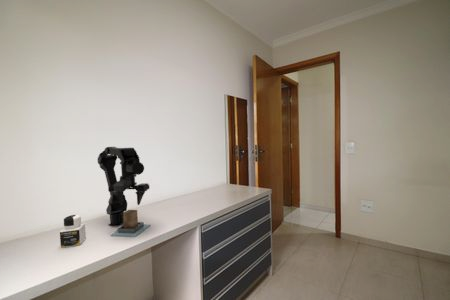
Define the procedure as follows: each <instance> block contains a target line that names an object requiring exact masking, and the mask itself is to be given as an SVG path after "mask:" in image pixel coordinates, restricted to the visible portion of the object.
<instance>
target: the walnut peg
mask: <svg viewBox="0 0 450 300" xmlns="http://www.w3.org/2000/svg"><path fill="white" fill-rule="evenodd" d="M123 217H124V223H123V225H124V228H134V227H136V226H137V225H138V222H139V220H138V217H139V216H138V209H127V210H126V211H124V213H123Z"/></svg>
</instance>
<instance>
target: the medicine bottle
mask: <svg viewBox="0 0 450 300" xmlns="http://www.w3.org/2000/svg"><path fill="white" fill-rule="evenodd" d="M86 233H87V232H86V223H85V222H84V223H82V217H81V215H80V214H72V215H68V216H66V217H64V218H63V229H61V230H60V231H59V240H60V248H61V249H62V248H69V247H70V248H71V247H77V246H80V245H81V244H82V243H83V242H84V241H85V240H86V239H87V235H86Z"/></svg>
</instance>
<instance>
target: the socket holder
mask: <svg viewBox="0 0 450 300" xmlns="http://www.w3.org/2000/svg"><path fill="white" fill-rule="evenodd" d="M149 227H151V224H150V223H149V224H147V223H144V221H138V225H137V226H136V227H134V228H124V224H123V225H120V227H118V228H117V230H116V231H114V232H113V233H111V234H109V235H110V237H123V238H124V237H125V238H126V237H127V238H136V237H138V236H139V235H141V234H142V233H143V232H144V231H145V230H147V229H148V228H149Z"/></svg>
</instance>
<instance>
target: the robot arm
mask: <svg viewBox="0 0 450 300" xmlns="http://www.w3.org/2000/svg"><path fill="white" fill-rule="evenodd" d="M117 159H119V160H120V162H119V164H120V166H121V167H120V169H121V175H120V176H119V180H118V179H117V175H116V171H115V166H116V164H117V163H116V162H117ZM97 164H98V165H99V168H100V169H101V170H103V172H104V175H105V179H106V182H107V187H108V189H107V190H108V192H109V195H110V197H109V199H108V201H107V202H108V205H107V208H106V210H105V212H106V214H107V215H109V221H110V223H109V224H107V225H108V226H112V227H113V226H117V227H119V226H122V224H123V225H124V217H123V213H124V212H126V211H128V202H127V199H126V195H125V193H124V192H126V190H135V191H136V192H135V194H136V203H137V206H139V205H140V204H141V202H142V199H143V197H144V195H145V193H146V192H147V191H148V190H150V184H149V183H147V182H146V183H139V184H138V183H137V182H136V177H137V175H138V176H139V175H141V174H143V173H144V171H145V166H144V164H143V163H142V162H140V156H139V154H138V153H137V151H136V149H135V148H134V147H116V146H106V147H105V148H104V150H102V151H101V152H100V153H99V155H98V157H97Z"/></svg>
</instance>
